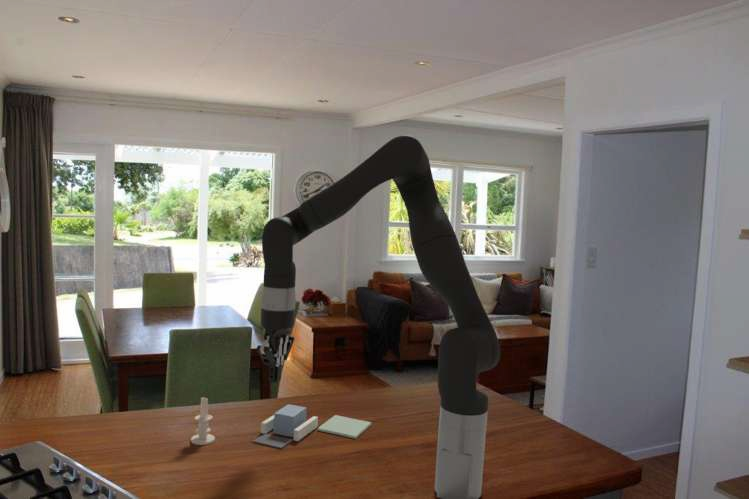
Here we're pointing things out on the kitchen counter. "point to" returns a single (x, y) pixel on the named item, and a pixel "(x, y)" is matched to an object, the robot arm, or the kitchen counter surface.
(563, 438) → the kitchen counter surface
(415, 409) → the kitchen counter surface
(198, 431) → the white ringed tapered column
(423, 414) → the kitchen counter surface
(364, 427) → the tile
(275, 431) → the block
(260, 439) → the channel
